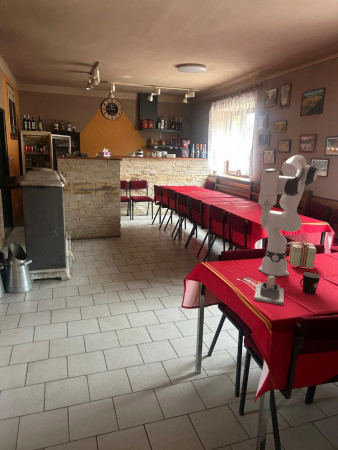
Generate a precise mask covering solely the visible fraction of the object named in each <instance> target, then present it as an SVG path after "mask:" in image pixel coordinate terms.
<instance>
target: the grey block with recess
mask: <svg viewBox="0 0 338 450" xmlns="http://www.w3.org/2000/svg"><path fill="white" fill-rule="evenodd" d="M266 285H267V281H266V282H265V281H262V282H261V283H257V284H256V288H255V293H254V296H253V298H254V299H253V300H254V301H258V302H263V303H267V304H268V303H269V304H274V305H281V306H284V302H285V301H284V296H285V295H284V294H285V293H284V290H285V289H284V287H281V286H280V285H279V284H277V283H275V286H274V289H270V288H266Z"/></svg>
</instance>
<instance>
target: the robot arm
mask: <svg viewBox="0 0 338 450" xmlns="http://www.w3.org/2000/svg"><path fill="white" fill-rule="evenodd" d="M318 171H319V169H318V168H317V167H316V166H314V165H309V164H307V160H306V158H305V157H304V156H303V155H302V154H301V155H300V154H295V155H292V156H291V157H289V158H288V159H287V160H286V161H284V162H283V164H282V165H281V168H280V171H279V169H276V168H266V169H264V170H263V172H262V174H261V180H260V191H259V194H258V203H259V204H260V207H261V215H260V216H259V217H260V218H259V220H260V221H259V222H260V224H261V228H262V229H265V231H266V233H267V247H266V249H265V250H266V251H265V255H264V257H263V258H262V259H261V260H262V262H261V265H260V266H259V267H258V268H257V269H258V271H259V270H260V272H262V273H263V274H265V275H268V276H274V277H275V276H276V277H284V276H289V275H290V272H289V271H288V270H287V269H288V260H287V259H286V258H287V257H286V256H287V244H288V241H287V239H286V236H284V235H283V234H282V233H281V231H283V232H289V233H290V232H291V233H292V232H296V233H297V232H298V231H299V230H300V229H301V228H302V225H303V220H302V218H301V217H300V216H299V214H298V206H299V204H300V201H301V199H302V197H303V194H304V191H305V187H307V186H309V185H311V184H313V183H314V182H316V179H317V178H318V175H319V172H318ZM278 195H281V198H280V200H279V203H278V204H279V206H280V208H281V209H282V210H283V211H278V210H272V208H273V207H274V206H275V205H277V200H278V199H277V198H278Z"/></svg>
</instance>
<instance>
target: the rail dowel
mask: <svg viewBox="0 0 338 450" xmlns="http://www.w3.org/2000/svg"><path fill="white" fill-rule="evenodd" d="M276 278H277V276H276V277H275V276H273V275H267V278H266V279H267V280H266V283H267V285H266V288H270V289H274V286H275V284H276Z"/></svg>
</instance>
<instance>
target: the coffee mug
mask: <svg viewBox="0 0 338 450" xmlns="http://www.w3.org/2000/svg"><path fill="white" fill-rule="evenodd" d="M302 276H303V277H302V278H301V279H300V282H299V284H300V286H301V288H302V293H303V294H306V295H311V296H313V295H316V292H317V289H318V285H319V282H320V279H321V276H320V275H319V274H318V273H317V274H316V272H314V273H313V272H303V273H302Z"/></svg>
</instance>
